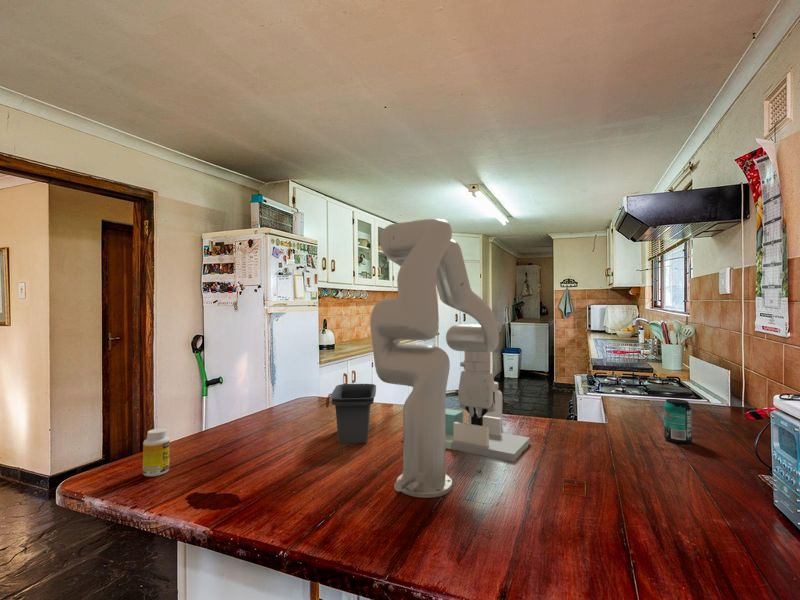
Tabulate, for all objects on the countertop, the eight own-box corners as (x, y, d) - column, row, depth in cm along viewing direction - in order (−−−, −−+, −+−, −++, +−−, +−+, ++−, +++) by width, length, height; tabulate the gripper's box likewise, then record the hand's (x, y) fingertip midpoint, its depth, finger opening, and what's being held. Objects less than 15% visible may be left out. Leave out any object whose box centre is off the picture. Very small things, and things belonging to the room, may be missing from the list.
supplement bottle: (165, 476, 97) (165, 433, 98) (139, 478, 96) (139, 434, 96) (172, 467, 103) (172, 426, 103) (147, 469, 101) (147, 428, 102)
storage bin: (375, 446, 118) (375, 397, 119) (321, 447, 118) (321, 397, 118) (376, 425, 140) (376, 383, 140) (330, 426, 139) (330, 383, 139)
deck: (514, 461, 106) (514, 434, 106) (402, 439, 124) (402, 416, 124) (530, 444, 120) (529, 420, 120) (427, 426, 138) (427, 405, 138)
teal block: (454, 435, 122) (454, 415, 122) (436, 432, 125) (436, 412, 125) (463, 430, 127) (462, 411, 127) (445, 427, 130) (445, 408, 130)
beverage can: (683, 437, 126) (682, 398, 127) (697, 445, 119) (696, 403, 120) (659, 436, 127) (658, 398, 127) (671, 444, 120) (671, 403, 120)
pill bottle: (504, 430, 134) (504, 384, 134) (480, 430, 134) (480, 384, 134) (499, 423, 142) (499, 380, 142) (476, 423, 142) (476, 380, 142)
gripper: (448, 366, 121) (448, 429, 120) (497, 370, 113) (497, 437, 112) (458, 364, 127) (458, 423, 127) (506, 367, 119) (506, 431, 119)
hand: (476, 430), depth 119 cm, fingers closed
